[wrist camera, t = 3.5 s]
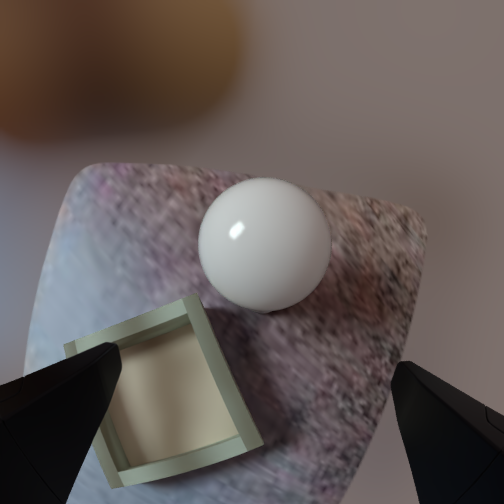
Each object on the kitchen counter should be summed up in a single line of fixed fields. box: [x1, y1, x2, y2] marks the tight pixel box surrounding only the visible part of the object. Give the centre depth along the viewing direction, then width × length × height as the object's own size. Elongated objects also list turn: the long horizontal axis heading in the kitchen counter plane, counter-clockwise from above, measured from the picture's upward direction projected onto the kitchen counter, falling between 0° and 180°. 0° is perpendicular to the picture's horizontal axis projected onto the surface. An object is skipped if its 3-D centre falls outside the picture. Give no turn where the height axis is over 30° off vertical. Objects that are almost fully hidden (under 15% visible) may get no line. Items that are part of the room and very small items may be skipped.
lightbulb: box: [198, 177, 332, 314], centre depth 17 cm, size 6×6×11 cm
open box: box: [64, 293, 264, 489], centre depth 17 cm, size 10×10×3 cm
